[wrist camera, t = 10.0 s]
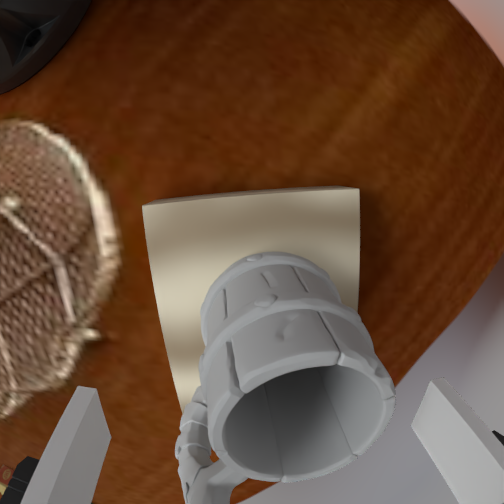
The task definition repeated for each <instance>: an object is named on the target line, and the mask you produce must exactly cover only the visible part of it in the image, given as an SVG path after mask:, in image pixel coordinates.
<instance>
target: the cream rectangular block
mask: <svg viewBox="0 0 504 504" xmlns="http://www.w3.org/2000/svg"><path fill="white" fill-rule="evenodd" d="M142 210H143V218H144V226H145V234H146V241H147V248H148V254H149V261H150V267H151V273H152V279H153V285H154V291H155V296H156V302H157V307H158V312H159V317H160V322H161V327H162V332H163V336H164V341H165V346H166V350H167V354H168V359H169V363H170V367H171V371H172V375H173V379H174V383H175V387H176V391H177V395H178V399H179V403H180V406H181V410H182V413H184V409H185V406H186V405H187V404H188V403H190V402H191V400H192V397H193V395H194V393H195V391H196V389H197V387H198V386H201V382H200V377H199V374H200V373H199V368H198V365H199V360H200V356H201V355H202V354H203V353H204V350H205V347H206V346H205V344H204V341H203V337H202V333H201V315H200V309H201V305H202V303H203V302H204V299H205V297H206V294H207V292H208V290H209V288H210V286H211V285H212V284H213V282H214V281H215V280H216V279H217V278H218V277H219V276H220V275H221V274H222V273H223V272H224V271H225V270H226V269H227V268H228V267H229V266H230V265H232V264H233V263H235V262H236V261H238V260H240V259H241V258H244V257H246V256H249V255H252V254H257V253H263V252H286V253H291V254H295V255H298V256H301V257H303V258H306V259H308V260H310V261H311V262H313V263H315V264H316V265H317V266H318V267H320V268H322V269H323V270H325V271H326V272H327V273H328V275H329V276H330V279H331V280H332V282H333V283H334V284H335V286H336V288H337V291H338V293H339V295H340V298H341V302H342V304H344V305H346V306H347V307H351V308H353V309H354V310H355V311H356V312H358V294H359V267H360V196H359V189H356V188H350V187H344V186H319V187H300V188H283V189H268V190H254V191H241V192H229V193H218V194H207V195H197V196H187V197H178V198H169V199H160V200H155V201H152V202H150V203H148V204H145V205H143V206H142Z"/></svg>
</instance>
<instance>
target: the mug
mask: <svg viewBox="0 0 504 504" xmlns="http://www.w3.org/2000/svg"><path fill="white" fill-rule="evenodd" d="M200 315H201V333H202V337H203V341H204V344H205V346H206V347H205V350H204V353H203V354H202V355H201V356H200V360H199V365H198V368H199V373H200V374H199V377H200V382H201V386H198V387H197V389H196V391H195V393H194V395H193V397H192V400H191V402H190V403H188V404H187V405H186V406H185V409H184V413H183V416H182V418H181V422H180V431H181V435H179V436H178V439H177V442H176V446H175V456H176V458H177V459H179V465H180V466H179V468H178V473H179V476H180V478H181V482H182V489H183V493H184V499H185V503H186V504H229V503H230V495H231V492H232V490H233V488H234V487H235V486H237V485H238V484H240V483H242V482H243V481H245V480H246V479H247V478H252V479H256V480H262V481H271V482H277V481H280V480H281V481H282V482H285V483H287V482H298V481H302V480H307V479H312V478H316V477H320V476H323V475H326V474H329V473H331V472H334V471H336V470H338V469H340V468H342V467H344V466H346V465H348V464H350V463H351V462H352V461H354V460H355V459H357V458H358V456H357V455H359V456H361V455H363V454H364V453H365V452H366V451H367V450H368V448H369V447H370V446H371V445H372V444H373V443H374V442H375V441H376V440H377V439H378V438H379V437H380V436H381V434H382V433H383V432H384V431H385V429H386V427H387V425H388V423H389V421H390V419H391V417H392V416H393V412H394V408H395V405H396V397H395V388H394V384H393V381H392V379H391V377H390V375H389V374H388V372H387V371H386V369H385V367H384V366H383V364H382V363H381V362H380V360H379V359H378V357H377V356H376V354H375V353H374V347H373V343H372V340H371V337H370V335H369V333H368V331H367V329H366V327H365V326H364V324H363V323H362V322H361V317H360V316H359V314H358V313H357V312H356V311H355V310H354V309H353V308H351V307H347V306H346V305H344V304H342V302H341V298H340V295H339V293H338V291H337V288H336V286H335V284H334V283H333V282H332V280H331V279H330V276H329V275H328V273H327V272H326V271H325V270H323V269H322V268H320V267H318V266H317V265H316V264H315V263H313V262H311V261H310V260H308V259H306V258H303V257H301V256H298V255H295V254H291V253H286V252H263V253H257V254H252V255H249V256H246V257H244V258H241V259H240V260H238V261H236V262H235V263H233V264H232V265H230V266H229V267H228V268H227V269H226V270H225V271H224V272H223V273H222V274H221V275H220V276H219V277H218V278H217V279H216V280H215V281H214V282H213V284H212V285H211V286H210V288H209V290H208V292H207V294H206V297H205V299H204V302H203V303H202V305H201V309H200ZM211 447H212V449H213V450H214V451H215V452H216V454H217V456H218V457H219V458H220V459H219V460H218V461H217V462H215V463H213V462H212V461H211V460H210V458H209V456H210V455H211Z"/></svg>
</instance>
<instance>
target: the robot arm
mask: <svg viewBox="0 0 504 504" xmlns="http://www.w3.org/2000/svg"><path fill="white" fill-rule="evenodd" d="M90 2H91V0H0V94H2V93H5V92H7V91H9V90H11V89H13V88H15V87H17V86H19V85H20V84H22V83H23V82H25V81H26V80H28V79H29V78H30V77H32V76H33V75H34V74H35V73H37V72H38V71H39V70H40V69H41V68H42V67H43V66H44V65H45V64H46V63H47V62H48V61H49V60H50V59H51V58H52V57H53V56H54V55H55V54H56V53H57V52H58V51H59V50H60V49H61V47H62V46H63V45H64V44H65V43H66V41H67V40H68V39H69V37H70V36H71V35H72V33H73V32H74V30H75V29H76V28H77V26H78V25H79V23H80V21H81V20H82V18H83V16H84V15H85V13H86V11H87V9H88V7H89V4H90ZM411 427H412V429H413V430H414V432H415V433H416V435H417V437H418V438H419V440H420V441H421V443H422V444H423V446H424V447H425V449H426V451H427V452H428V454H429V455H430V457H431V459H432V460H433V462H434V463H435V465H436V466H437V468H438V470H439V471H440V473H441V475H442V476H443V478H444V479H445V481H446V483H447V484H448V486H449V487H450V489H451V490H452V492H453V494H454V496H455V497H456V499H457V501H458V502H459V504H504V436H502V435H501V434H499V433H498V432H496V431H492V432H491V430H490V429H489V428H488V427H487V426H486V425H485V423H484V422H483V421H482V420H481V419H480V418H479V416H478V415H477V414H476V413H475V412H474V411H473V410H472V408H471V407H470V406H469V405H468V404H467V403H466V402H465V400H464V399H463V398H462V397H461V396H460V395H459V394H458V393H457V391H456V390H455V389H454V388H453V387H452V386H451V385H450V384H449V383H448V382H447V381H446V379H445V378H444V377H443V378H438V379H433V380H431V381H430V383H429V385H428V388H427V391H426V393H425V395H424V397H423V399H422V402H421V404H420V406H419V409H418V411H417V413H416V415H415V417H414V419H413V422H412V424H411ZM110 439H111V435H110V432H109V429H108V426H107V423H106V420H105V417H104V414H103V410H102V407H101V404H100V400H99V397H98V393H97V389H94V388H88V387H82V386H78V387H77V389H76V391H75V393H74V394H73V396H72V398H71V400H70V402H69V404H68V405H67V407H66V409H65V411H64V413H63V415H62V417H61V419H60V421H59V423H58V425H57V426H56V428H55V430H54V432H53V434H52V436H51V438H50V440H49V442H48V444H47V446H46V448H45V450H44V453H43V455H42V457H41V459H40V460H38V459H35V458H32V457H29V456H27V457H26V458H25V459H24V460H23V461H21V462H20V463H19V464H18V465H17V467H16V469H15V471H14V473H13V475H12V479H10V481H9V483H8V487H6V489H5V491H4V494H3V496H2V498H1V500H0V504H91V501H92V498H93V494H94V491H95V487H96V484H97V481H98V477H99V474H100V471H101V468H102V464H103V461H104V458H105V455H106V452H107V449H108V446H109V442H110Z"/></svg>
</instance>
